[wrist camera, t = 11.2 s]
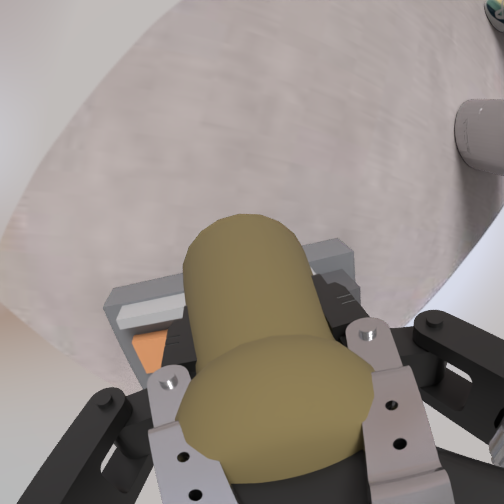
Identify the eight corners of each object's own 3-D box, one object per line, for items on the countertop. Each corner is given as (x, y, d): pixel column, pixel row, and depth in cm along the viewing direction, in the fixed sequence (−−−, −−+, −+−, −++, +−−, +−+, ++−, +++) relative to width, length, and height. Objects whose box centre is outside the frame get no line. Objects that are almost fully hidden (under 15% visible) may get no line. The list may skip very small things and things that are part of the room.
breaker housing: (337, 238, 32) (373, 267, 25) (343, 323, 36) (371, 364, 29) (113, 288, 30) (90, 330, 23) (147, 367, 34) (139, 416, 27)
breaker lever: (307, 297, 29) (311, 304, 28) (311, 331, 30) (315, 338, 29) (133, 335, 28) (131, 342, 27) (148, 366, 29) (146, 373, 28)
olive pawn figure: (321, 227, 15) (484, 387, 4) (288, 333, 17) (359, 521, 6) (193, 202, 14) (143, 393, 3) (175, 319, 15) (151, 531, 5)
